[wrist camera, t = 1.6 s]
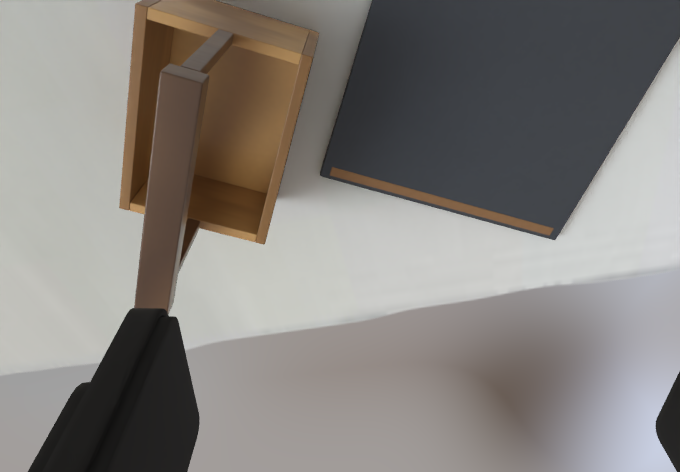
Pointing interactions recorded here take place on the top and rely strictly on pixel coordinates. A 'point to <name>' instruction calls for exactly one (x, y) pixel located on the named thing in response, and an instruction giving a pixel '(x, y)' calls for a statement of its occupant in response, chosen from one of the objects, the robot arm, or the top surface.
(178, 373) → the robot arm
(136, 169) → the basket
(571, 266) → the top surface
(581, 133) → the felt mat
